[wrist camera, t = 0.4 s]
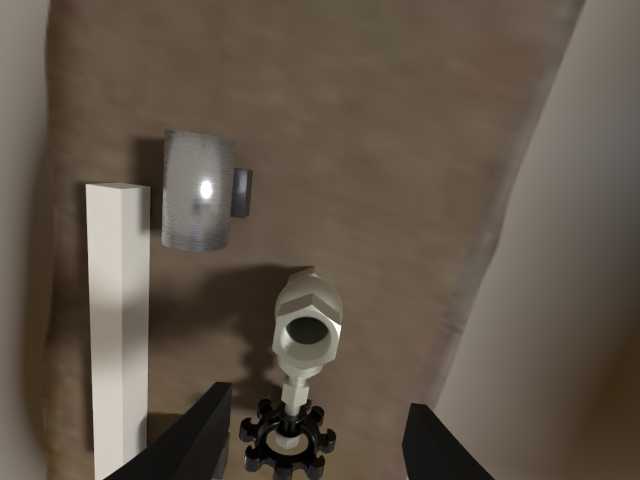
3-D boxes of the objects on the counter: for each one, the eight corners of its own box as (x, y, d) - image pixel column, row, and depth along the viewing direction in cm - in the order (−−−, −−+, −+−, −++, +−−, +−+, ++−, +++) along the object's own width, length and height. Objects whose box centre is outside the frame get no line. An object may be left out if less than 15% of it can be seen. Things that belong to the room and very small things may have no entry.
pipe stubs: (225, 476, 25) (202, 549, 20) (173, 470, 25) (138, 542, 20) (254, 147, 19) (232, 138, 15) (187, 137, 19) (141, 125, 14)
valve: (269, 255, 21) (250, 399, 24) (246, 292, 15) (224, 483, 17) (360, 270, 21) (332, 410, 24) (377, 312, 15) (336, 498, 18)
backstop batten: (146, 453, 25) (122, 491, 22) (122, 450, 25) (95, 487, 22) (150, 186, 20) (121, 189, 17) (120, 182, 20) (85, 184, 17)
